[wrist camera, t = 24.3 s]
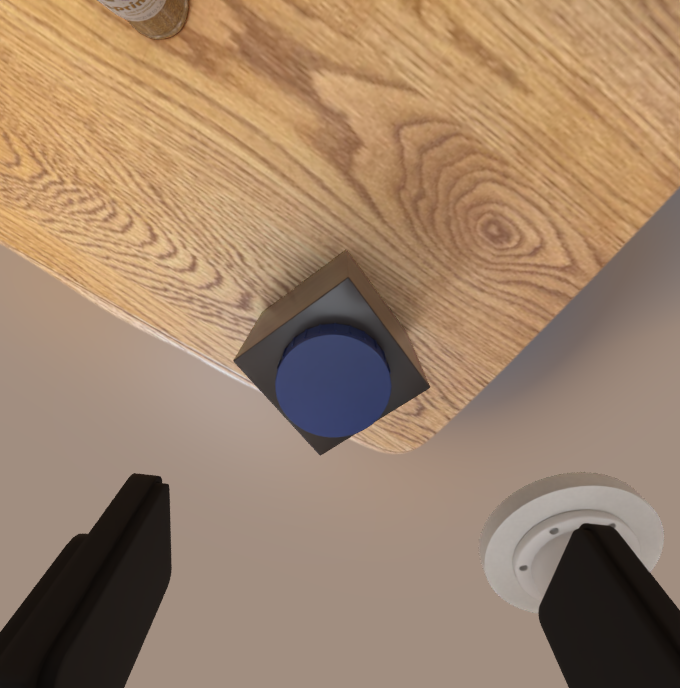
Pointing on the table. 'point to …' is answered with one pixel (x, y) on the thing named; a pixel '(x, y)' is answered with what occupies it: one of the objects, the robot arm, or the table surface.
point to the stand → (328, 308)
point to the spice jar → (151, 15)
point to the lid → (333, 380)
